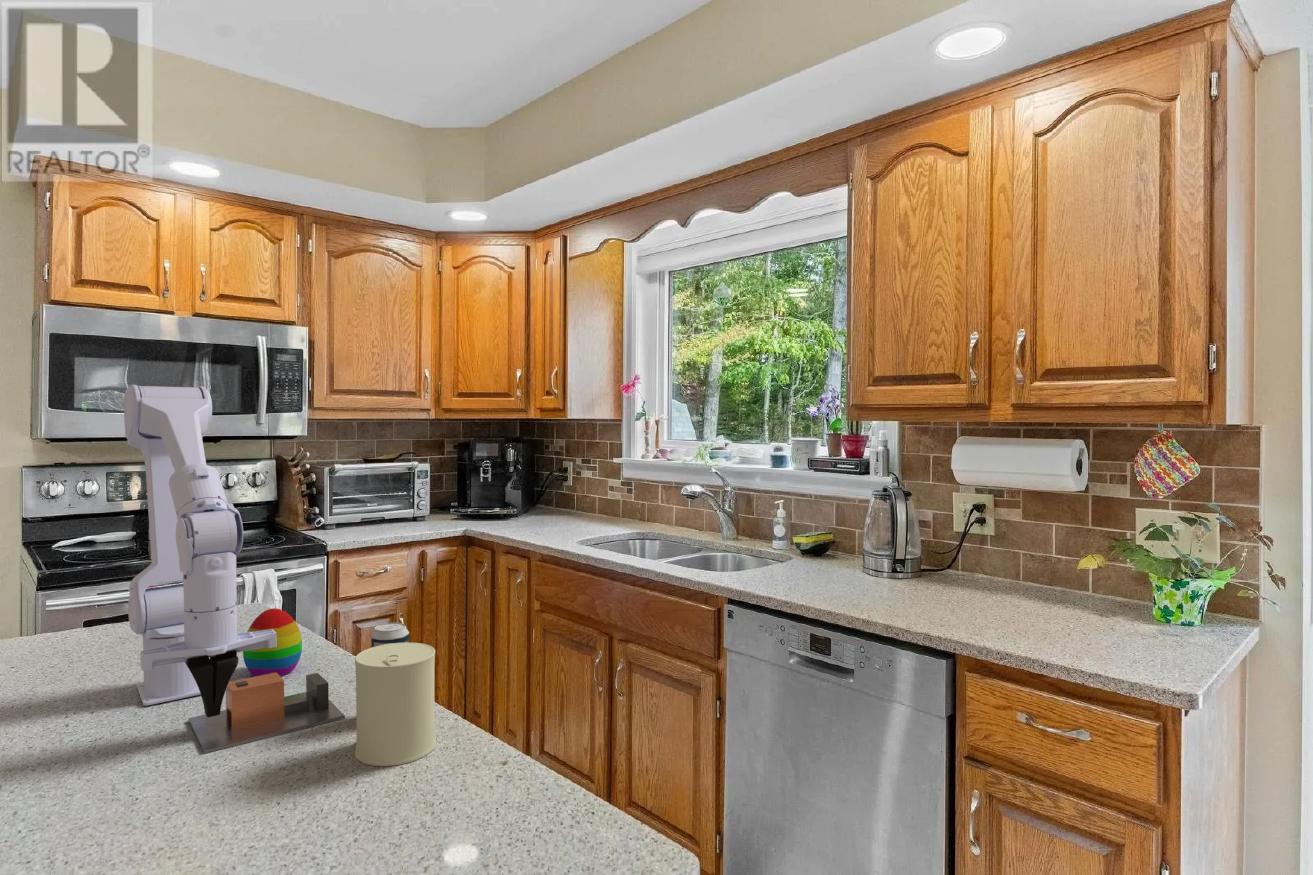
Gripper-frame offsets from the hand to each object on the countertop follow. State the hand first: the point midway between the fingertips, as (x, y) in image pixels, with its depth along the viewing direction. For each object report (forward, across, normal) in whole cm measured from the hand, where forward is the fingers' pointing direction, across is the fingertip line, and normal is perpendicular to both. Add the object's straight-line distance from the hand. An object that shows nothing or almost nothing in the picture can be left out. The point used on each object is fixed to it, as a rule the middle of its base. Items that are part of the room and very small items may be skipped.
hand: (212, 713), depth 93 cm
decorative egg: (+3, +11, +19) cm, 22 cm away
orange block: (+2, +5, 0) cm, 5 cm away
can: (+3, +16, -19) cm, 25 cm away
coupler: (+2, +6, 0) cm, 7 cm away
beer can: (+3, +19, -9) cm, 21 cm away
